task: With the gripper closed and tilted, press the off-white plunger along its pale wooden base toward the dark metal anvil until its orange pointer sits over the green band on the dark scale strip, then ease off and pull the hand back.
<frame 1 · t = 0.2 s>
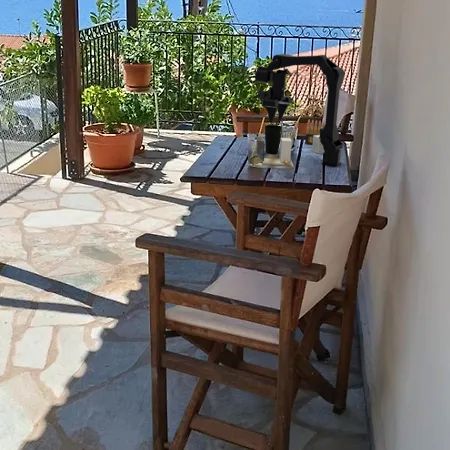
hand: (275, 121, 279), 15 cm above the table, tool pointing down, fingers open, 9 cm apart
ammunition clip: (316, 145, 305), on the table
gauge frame: (272, 163, 269), on the table
gauge slider: (285, 151, 266), point 6 cm above the table, slide at 0.0 cm
cup: (271, 153, 286), on the table
skincare box: (320, 152, 292), on the table
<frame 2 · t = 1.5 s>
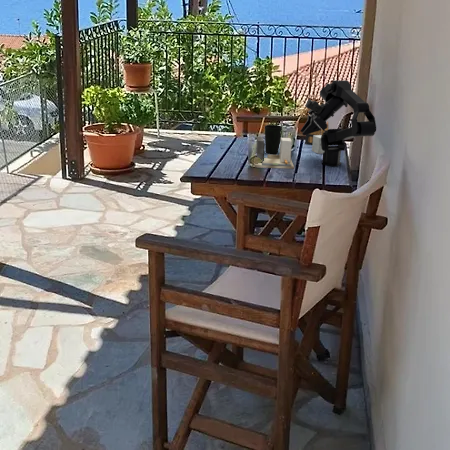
hand: (301, 133, 268), 13 cm above the table, tool tilted 45°, fingers open, 6 cm apart
nothing on the table moved.
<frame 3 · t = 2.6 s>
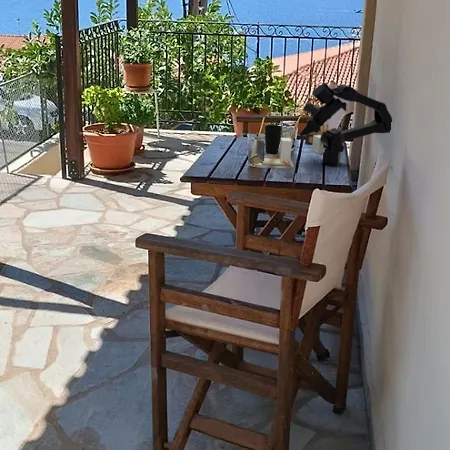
hand: (300, 135, 270), 11 cm above the table, tool tilted 45°, fingers closed
nothing on the table moved.
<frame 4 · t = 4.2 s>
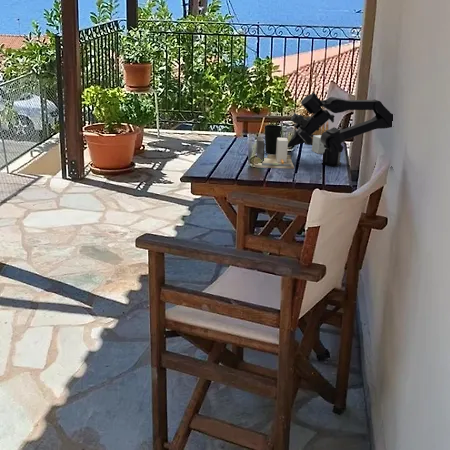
hand: (287, 146, 267), 7 cm above the table, tool tilted 45°, fingers closed, pressing on gauge slider
gauge slider: (282, 151, 266), point 6 cm above the table, slide at 1.5 cm, touching gripper
everything else where it was.
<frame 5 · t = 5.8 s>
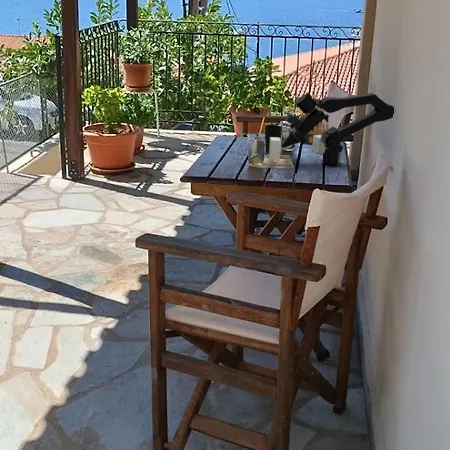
hand: (282, 146, 268), 7 cm above the table, tool tilted 45°, fingers closed
gauge slider: (275, 150, 266), point 6 cm above the table, slide at 4.5 cm
everything else where it was.
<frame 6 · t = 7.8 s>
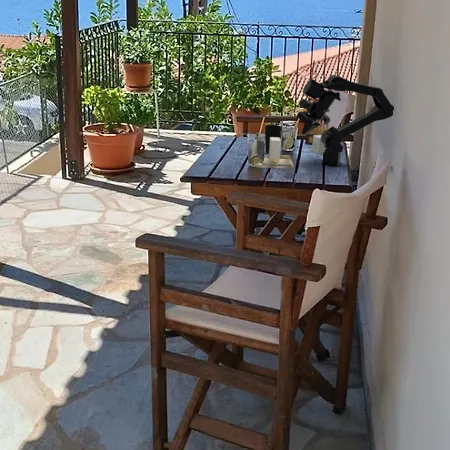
hand: (302, 134, 271), 12 cm above the table, tool tilted 30°, fingers closed
nothing on the table moved.
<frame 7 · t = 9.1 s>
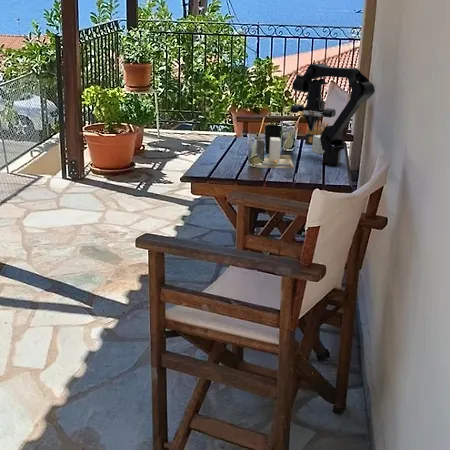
hand: (311, 130, 276), 12 cm above the table, tool pointing down, fingers closed
nothing on the table moved.
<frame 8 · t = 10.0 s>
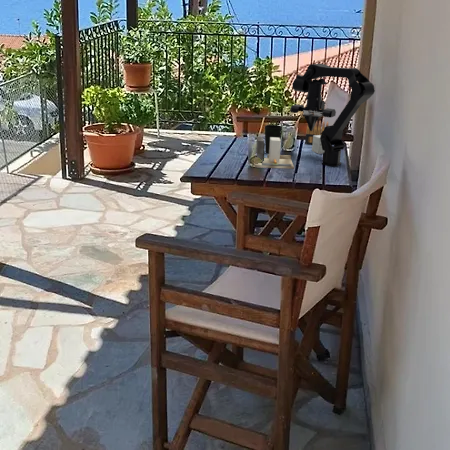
hand: (311, 130, 276), 12 cm above the table, tool pointing down, fingers closed
nothing on the table moved.
at the end: gauge slider slide at 4.5 cm; cup moved 0.2 cm from its start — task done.
